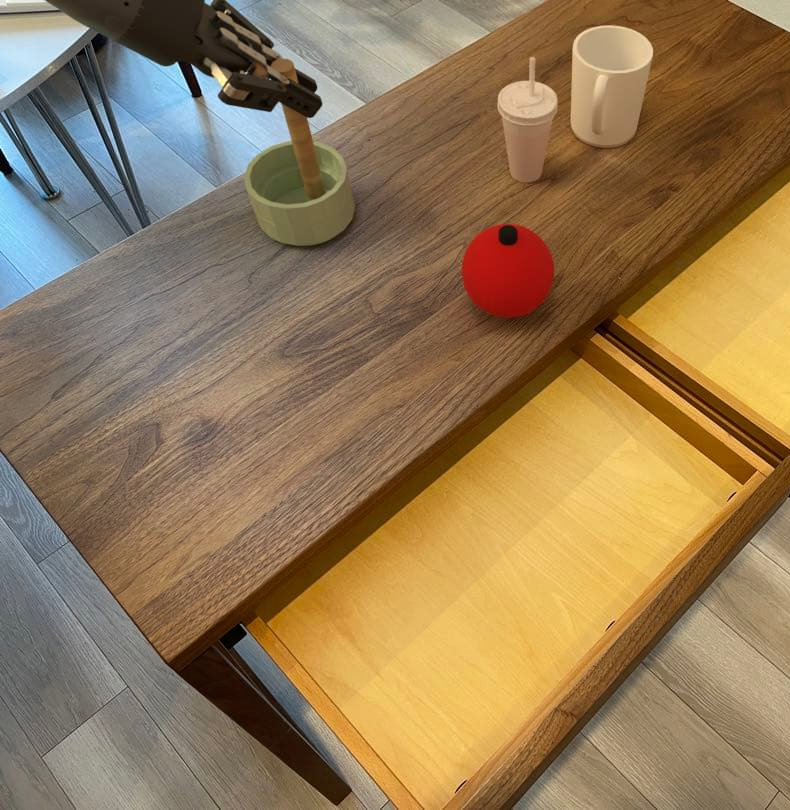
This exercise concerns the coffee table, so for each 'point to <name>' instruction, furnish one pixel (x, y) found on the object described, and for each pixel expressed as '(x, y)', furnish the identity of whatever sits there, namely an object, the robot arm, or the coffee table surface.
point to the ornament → (507, 270)
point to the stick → (301, 138)
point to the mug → (608, 84)
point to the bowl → (299, 196)
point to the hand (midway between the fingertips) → (314, 100)
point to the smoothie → (527, 124)
